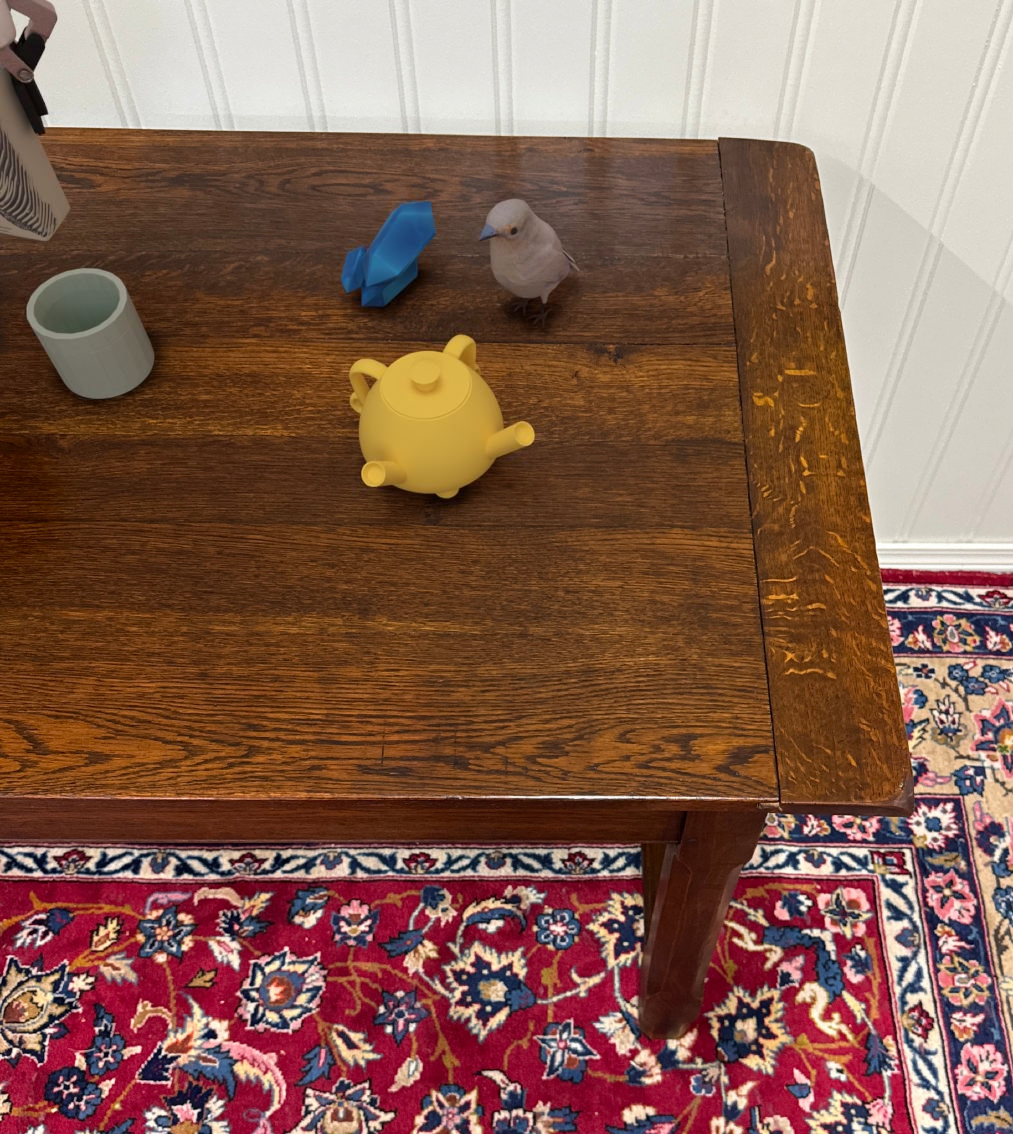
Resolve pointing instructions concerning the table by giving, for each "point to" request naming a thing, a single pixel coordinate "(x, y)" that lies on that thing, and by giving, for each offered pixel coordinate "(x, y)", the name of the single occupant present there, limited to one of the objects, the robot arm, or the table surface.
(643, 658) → the table surface
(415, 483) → the teapot
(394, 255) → the crystal
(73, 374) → the jar
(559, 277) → the bird
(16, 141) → the box
